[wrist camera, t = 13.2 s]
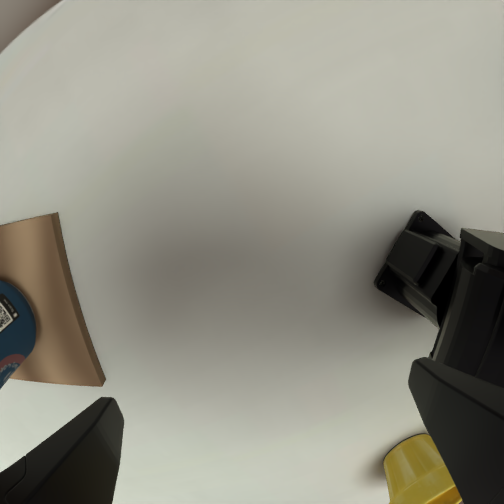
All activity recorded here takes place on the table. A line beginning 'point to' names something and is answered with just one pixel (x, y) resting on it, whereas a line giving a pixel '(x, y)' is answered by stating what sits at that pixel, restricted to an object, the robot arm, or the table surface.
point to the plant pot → (419, 474)
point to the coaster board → (48, 303)
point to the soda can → (14, 330)
